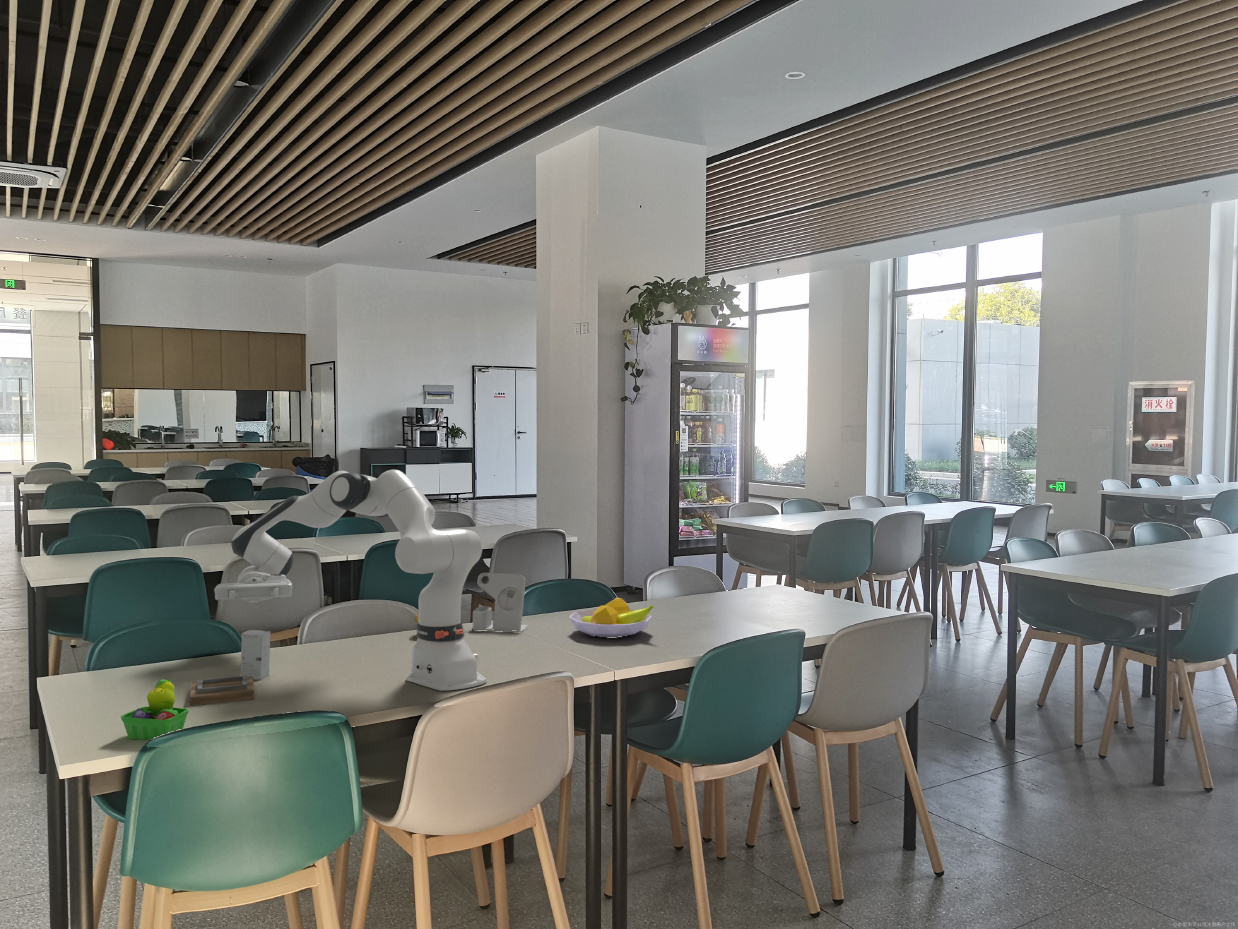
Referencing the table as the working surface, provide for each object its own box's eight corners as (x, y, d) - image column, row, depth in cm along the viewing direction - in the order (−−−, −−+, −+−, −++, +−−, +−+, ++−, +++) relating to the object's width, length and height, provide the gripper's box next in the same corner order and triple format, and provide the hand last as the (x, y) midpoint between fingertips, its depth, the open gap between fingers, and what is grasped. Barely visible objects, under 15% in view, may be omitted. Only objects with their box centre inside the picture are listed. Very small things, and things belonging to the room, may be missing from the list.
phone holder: (469, 631, 294) (470, 576, 293) (479, 624, 304) (479, 571, 303) (520, 633, 291) (521, 578, 291) (529, 627, 301) (529, 573, 301)
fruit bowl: (553, 632, 293) (553, 598, 293) (615, 622, 311) (615, 589, 311) (609, 649, 272) (609, 612, 272) (672, 636, 290) (672, 601, 290)
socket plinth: (253, 699, 217) (253, 687, 217) (189, 705, 211) (189, 692, 211) (252, 684, 230) (252, 672, 230) (192, 689, 224) (192, 677, 224)
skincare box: (239, 679, 234) (239, 633, 234) (249, 674, 239) (249, 629, 238) (261, 680, 233) (261, 634, 233) (270, 675, 238) (270, 630, 237)
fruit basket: (118, 740, 187) (117, 687, 187) (146, 727, 196) (146, 676, 196) (167, 744, 185) (167, 690, 185) (194, 730, 194) (194, 678, 194)
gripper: (214, 577, 255) (213, 585, 242) (290, 574, 263) (293, 582, 250) (214, 599, 255) (213, 609, 243) (290, 595, 263) (293, 604, 251)
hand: (254, 595), depth 247 cm, fingers open, 8 cm apart
